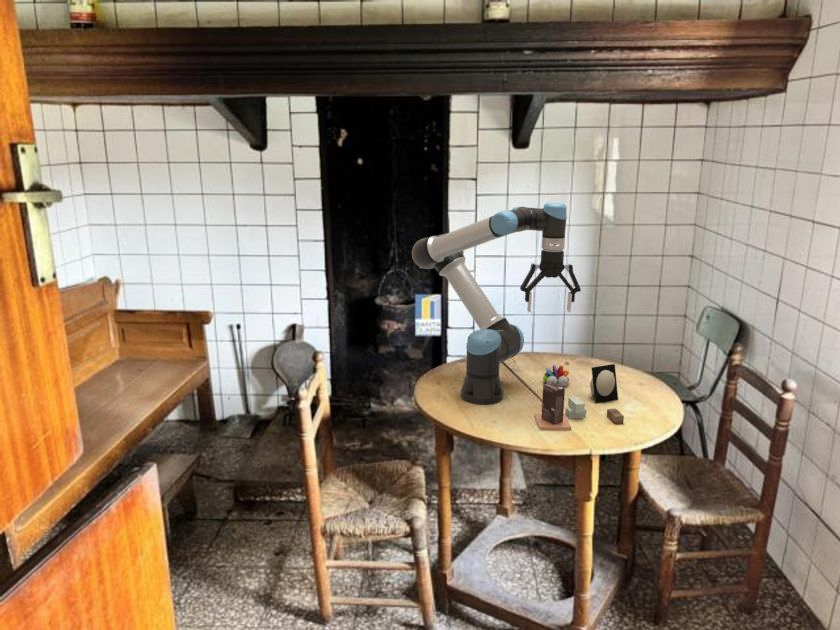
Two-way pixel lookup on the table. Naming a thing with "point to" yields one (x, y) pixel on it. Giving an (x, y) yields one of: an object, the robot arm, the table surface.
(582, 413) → the grey brick
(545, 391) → the box
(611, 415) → the walnut brick
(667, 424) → the table surface
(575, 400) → the pale green brick
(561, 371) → the rainbow disc rolling toy
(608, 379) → the decorative object
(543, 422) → the tile
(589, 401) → the table surface
